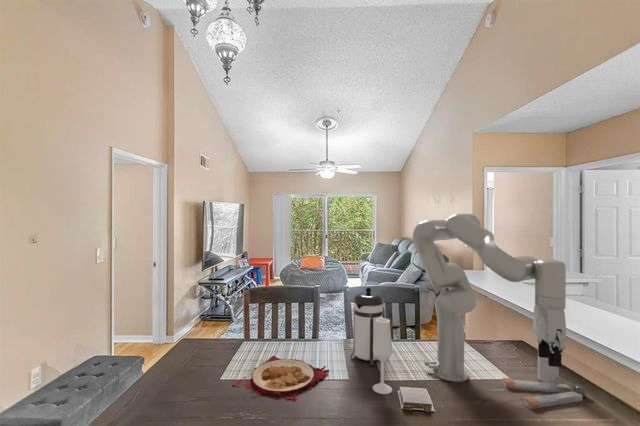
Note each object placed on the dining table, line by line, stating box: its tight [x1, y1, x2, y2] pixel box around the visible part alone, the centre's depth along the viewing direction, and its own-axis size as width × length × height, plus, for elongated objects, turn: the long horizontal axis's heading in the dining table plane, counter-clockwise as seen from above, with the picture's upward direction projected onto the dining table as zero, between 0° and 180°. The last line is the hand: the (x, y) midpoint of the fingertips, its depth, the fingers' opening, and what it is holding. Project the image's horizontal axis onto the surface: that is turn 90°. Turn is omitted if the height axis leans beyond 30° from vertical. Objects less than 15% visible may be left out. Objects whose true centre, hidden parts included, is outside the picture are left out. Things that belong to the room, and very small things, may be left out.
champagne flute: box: [372, 317, 393, 395], centre depth 114 cm, size 7×7×24 cm
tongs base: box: [502, 377, 587, 399], centre depth 113 cm, size 25×5×3 cm, turn 80°
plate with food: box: [232, 355, 330, 403], centre depth 120 cm, size 25×26×4 cm
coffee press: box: [350, 287, 386, 367], centre depth 138 cm, size 17×16×30 cm
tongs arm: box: [522, 390, 583, 410], centre depth 106 cm, size 20×3×2 cm, turn 102°
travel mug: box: [537, 340, 560, 384], centre depth 119 cm, size 6×7×20 cm
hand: (549, 360), depth 97 cm, fingers open, 5 cm apart
